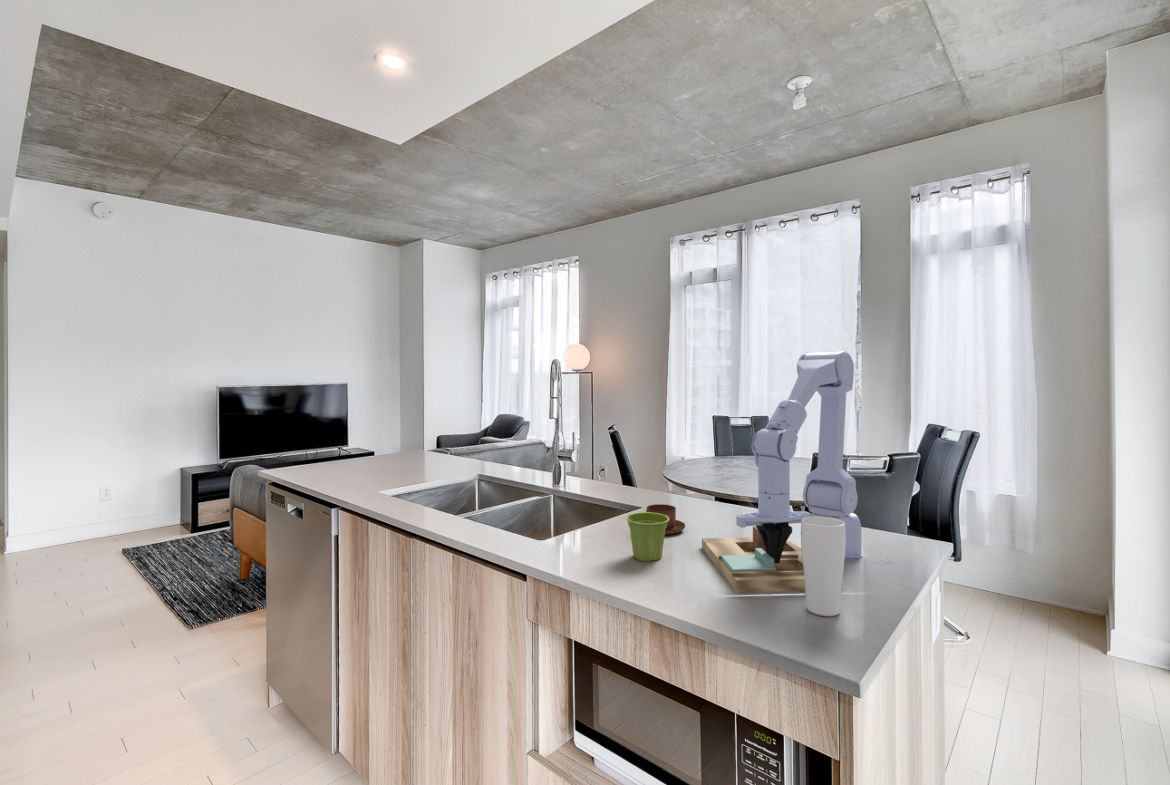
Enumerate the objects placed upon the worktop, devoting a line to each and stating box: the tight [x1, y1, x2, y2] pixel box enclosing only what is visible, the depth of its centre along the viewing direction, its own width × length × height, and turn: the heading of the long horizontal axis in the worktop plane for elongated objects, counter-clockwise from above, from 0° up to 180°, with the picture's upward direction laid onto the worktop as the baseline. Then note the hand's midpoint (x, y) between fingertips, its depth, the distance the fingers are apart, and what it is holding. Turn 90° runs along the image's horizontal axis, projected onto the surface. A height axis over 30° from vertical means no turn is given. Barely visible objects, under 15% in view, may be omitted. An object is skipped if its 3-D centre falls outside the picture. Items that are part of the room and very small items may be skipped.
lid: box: [722, 548, 776, 572], centre depth 106 cm, size 8×8×2 cm
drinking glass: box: [800, 515, 846, 617], centre depth 91 cm, size 7×7×15 cm
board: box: [701, 536, 805, 593], centre depth 112 cm, size 19×26×3 cm
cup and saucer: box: [645, 503, 686, 536], centre depth 139 cm, size 12×12×6 cm
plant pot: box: [625, 511, 669, 562], centre depth 119 cm, size 9×9×9 cm
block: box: [752, 526, 767, 552], centre depth 118 cm, size 4×4×6 cm
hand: (773, 561), depth 106 cm, fingers closed
